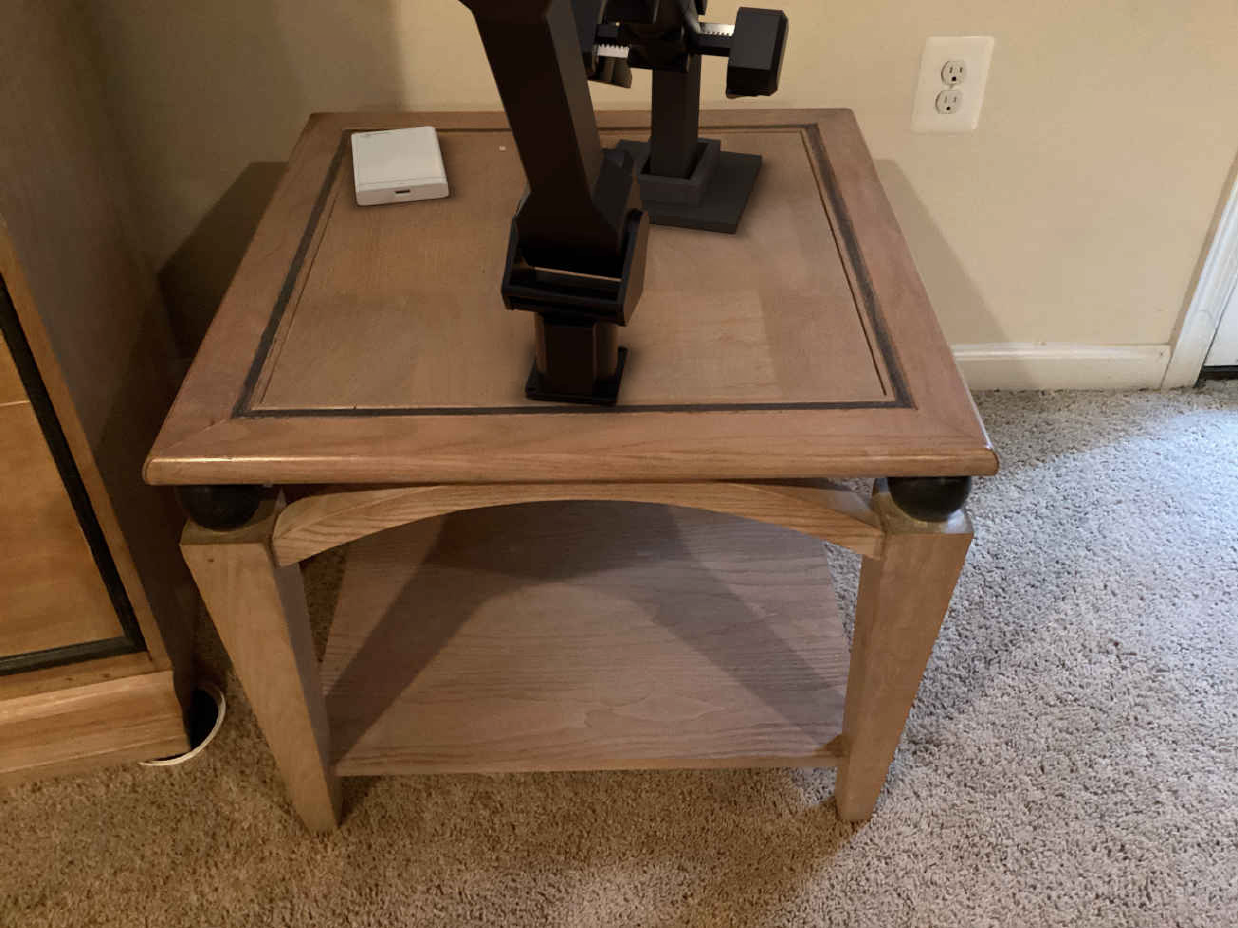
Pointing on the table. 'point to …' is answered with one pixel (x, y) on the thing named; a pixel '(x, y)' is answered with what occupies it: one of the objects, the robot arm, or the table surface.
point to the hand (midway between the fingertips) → (680, 88)
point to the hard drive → (398, 166)
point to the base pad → (697, 187)
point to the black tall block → (675, 121)
